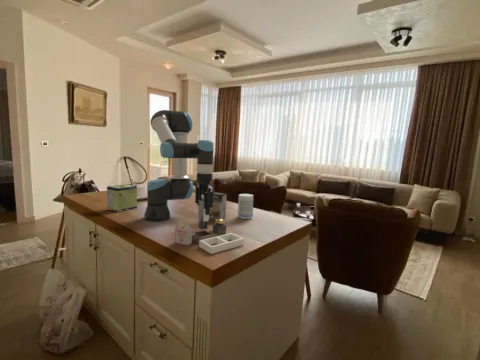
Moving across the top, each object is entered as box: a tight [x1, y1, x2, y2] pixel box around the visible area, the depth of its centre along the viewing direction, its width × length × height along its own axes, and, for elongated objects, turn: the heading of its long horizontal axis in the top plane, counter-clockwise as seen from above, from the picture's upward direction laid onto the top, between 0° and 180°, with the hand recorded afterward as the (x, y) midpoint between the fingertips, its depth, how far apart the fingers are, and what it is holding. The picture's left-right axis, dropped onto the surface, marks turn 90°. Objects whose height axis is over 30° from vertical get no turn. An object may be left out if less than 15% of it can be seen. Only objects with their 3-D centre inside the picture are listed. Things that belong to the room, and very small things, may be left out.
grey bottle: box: [197, 194, 209, 230], centre depth 131 cm, size 4×4×17 cm
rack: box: [198, 232, 245, 255], centre depth 123 cm, size 10×18×3 cm, turn 130°
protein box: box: [106, 183, 138, 211], centre depth 177 cm, size 10×16×16 cm
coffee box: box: [209, 191, 228, 221], centre depth 165 cm, size 9×6×16 cm
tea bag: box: [174, 220, 193, 247], centre depth 124 cm, size 4×7×10 cm, turn 65°
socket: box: [192, 223, 227, 244], centre depth 135 cm, size 12×18×5 cm, turn 130°
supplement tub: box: [237, 193, 254, 220], centre depth 171 cm, size 10×10×15 cm
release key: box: [214, 218, 225, 225], centre depth 139 cm, size 4×4×6 cm
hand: (203, 219), depth 132 cm, fingers closed on grey bottle, 4 cm apart
